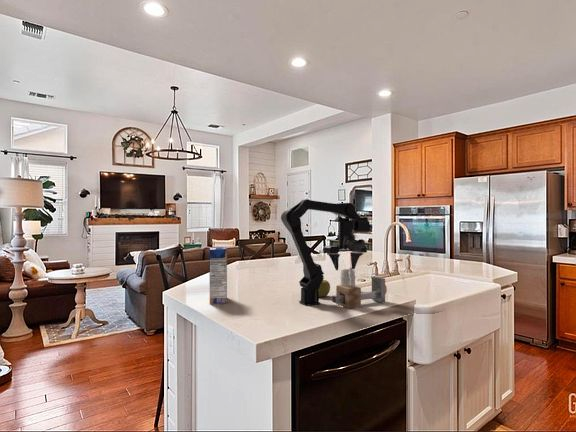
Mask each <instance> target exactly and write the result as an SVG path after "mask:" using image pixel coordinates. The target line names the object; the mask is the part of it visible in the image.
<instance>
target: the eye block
mask: <svg viewBox="0 0 576 432" xmlns="http://www.w3.org/2000/svg"><path fill="white" fill-rule="evenodd" d="M335 291H336V295H344V294H345V302H342V303H335V304H336V305H337V304H338V305H337V306H340V305H341V306H340V307H342V306H343V308H345V307H346V308H345V309H347V308H350V309H355V308H354V307H358V308H362V300H361V292H362V288H361V287H360V286H356V285H355V286H353V285H349V284H347V285H341V284H339V285H338V284H337V285H336V290H335Z"/></svg>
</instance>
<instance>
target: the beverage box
mask: <svg viewBox="0 0 576 432" xmlns="http://www.w3.org/2000/svg"><path fill="white" fill-rule="evenodd" d="M227 272H228V249H227V247H226V246H221V247H220V246H218V247H217V246H214V247H213V246H211V247H209V305H216V304H217V305H219V304H220V305H221V304H227V303H228V290H227V289H228V273H227Z"/></svg>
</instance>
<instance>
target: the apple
mask: <svg viewBox="0 0 576 432" xmlns="http://www.w3.org/2000/svg"><path fill="white" fill-rule="evenodd" d="M318 291H319V298H323V297H326V296H328V295H329V293H330V291H331V284H330V282H329V281H328V280H327V279H323V282H322V283H321V284H320V287H319V290H318Z"/></svg>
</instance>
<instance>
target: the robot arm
mask: <svg viewBox="0 0 576 432" xmlns="http://www.w3.org/2000/svg"><path fill="white" fill-rule="evenodd" d="M308 210H309V211H310V210H311V211H317V212H323V213H324V212H326V213H332V214H334V215H336V216H337V217H336V218H335V219H334V221H333V222H334V223H338V234H337V235H336V238H338V244H336V245H325V246H324V247H323V253H324V254H326V255H328V256H329V259H330V260H331V262H332V264H333V266H334V269H335V271H339V260H340V259H339V258H340V256H341V254H340V252H350V263H351V267H352V270H355V269H356V266H357V263H358V261H359V259H360V257H361V256H363V255H364V254H366V253H368V249H367V246H366V243H365V240H364V239H358V240H357V239H356V236H355V234H354V235H353V233H356V234H358V233H359V234H363V233H369V232H370V231H371V224H370V221H369V220H368V219H369V218H368V216H361V217H360V215H359V214H358V212H357V211H356V208H355V205H354V204H353V203H352V202H342V203H341V202H340V203H339V202H338V203H333V202H332V203H331V202H326V201H325V202H324V201H317V200H312V199H311V200H310V199H309V198H308V199H307V198H306V199H301V200H300V201H299V202H298V203H297V204H295V205H294V206H293V207H291V208H290V209H288V210H285V211H283V212H282V213H281V216H280V220H281V222H282V223H283V226H284V227H285V229H286V230H287V231H288V232H289V233H290V235H291V237H292V238H291V239H292V240H293V243H294V245H295V247H296V250H297V253H298V254H299V255H298V256H299V257H300V260H301V262H302V268H303V277H302V278H301V279H300V280H299V281H298V282H299V286H300V287H301V288H300V300H298V301H299V303H300V304H302V305H304V306H313V305H320V304H321V302H320V297H319V291H318V290H319V287H320V284H321V283H322V282H323V280H325V277H324V275H325V273H324V271H323V270H322V269H323V268H322V265H321V264H319V263H316V262H315V261H314V259H313V256H312V254H311V252H310V249H309V247H308V244H307V240H306V239H305V236H304V234H303V233H304V232H303V230H302V220H301V218H302V217H303V216H304V215H305V214H306V213H307V212H308Z"/></svg>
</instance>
